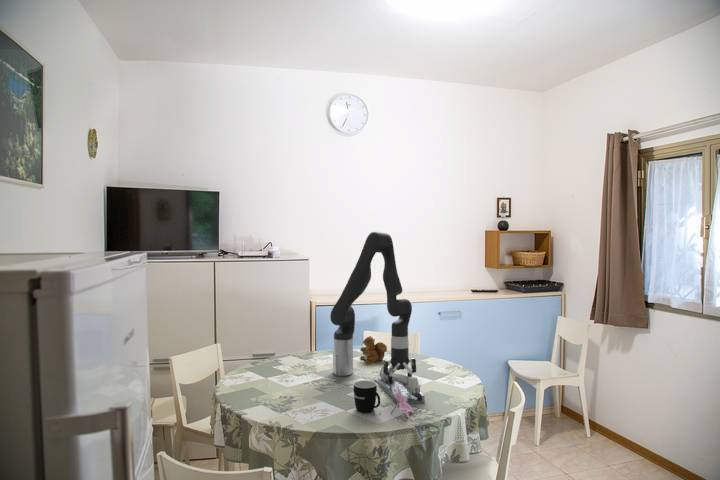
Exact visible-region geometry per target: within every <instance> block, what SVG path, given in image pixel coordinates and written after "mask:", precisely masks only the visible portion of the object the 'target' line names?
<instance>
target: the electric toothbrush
mask: <svg viewBox="0 0 720 480" xmlns="http://www.w3.org/2000/svg"><path fill="white" fill-rule="evenodd" d="M380 370H381V369H380ZM388 371H389V370H388ZM379 376H380V377H381V378H383V379H386V380H388V375H385V374H384V373H383V370H381V372H379ZM392 381H396V382H400V383H404V384H407V385H406V387H407V389H408V392H409V393H411V392H414V393H419V392H421V386H422V385H421V384H419V379H418V377H416V376H412V377H408V376H407V375H404V374H402V373H398V372H396V371H395V372H394V373H393V374H392Z"/></svg>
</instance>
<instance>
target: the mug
mask: <svg viewBox="0 0 720 480" xmlns="http://www.w3.org/2000/svg"><path fill="white" fill-rule="evenodd" d="M377 384H378V383H377V382H376V381H373V380H365V379H364V380H358V381H355V382H354V383H353V397H354V399H353V400H354V404H355V405H354V406H355V409H356V410H357V412H358V413H362V414H370V413H372V412H373V411H374V410H375V409H377V408H378V407H379V406H380V405H381V398H380V395H379V393H378V391H377V390H378V389H377V387H378V386H377ZM376 401H377V404H376Z"/></svg>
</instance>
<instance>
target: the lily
mask: <svg viewBox="0 0 720 480" xmlns="http://www.w3.org/2000/svg"><path fill="white" fill-rule="evenodd" d="M396 387H397V392H398V396H397V394H395V393H392V394H393V395H394V396H395V398H396V399H397V400H398V402H397V403H396V406H394V408H393V409H392V410H391V412H390V414H392V413H393V412H394V410H395V409H396V408H397V407H399V410H400V411H404V413H405V414H406V417H407V419H408V420H409V419H410V415H409V412H411V413H413V414H414V410H413V408H412V406H411V404H408V403H407V401H406V398H405V396H402V393H401V391H400V389H399V388H398V386H397V385H396Z"/></svg>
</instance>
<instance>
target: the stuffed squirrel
mask: <svg viewBox="0 0 720 480" xmlns="http://www.w3.org/2000/svg"><path fill="white" fill-rule="evenodd" d="M375 341H376V340H375V338H373V336H371V335H370V336H367V337H366V338H364V339H363V341H362V344H363V345H364V347H362V346H361V347H360V352H361V353H362V354H363V355H360V357H359V359H360V360H363V361H364V360H365V364H374V363H376V362H380V361H382V360H383V359H384V358H385V354H386V352H388V346H387V345H386V344H385V343H384V342H382V341H381V342H377V343H375Z"/></svg>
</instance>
